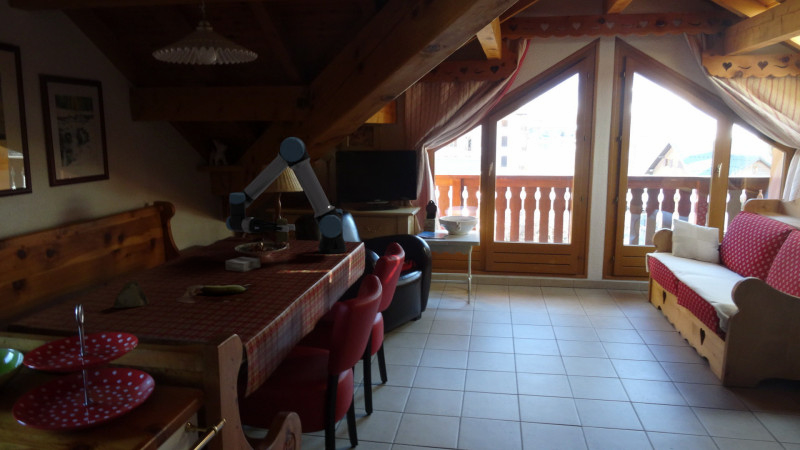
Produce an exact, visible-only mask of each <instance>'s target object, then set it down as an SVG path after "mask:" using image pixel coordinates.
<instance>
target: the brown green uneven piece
mask: <svg viewBox="0 0 800 450" xmlns="http://www.w3.org/2000/svg"><path fill="white" fill-rule="evenodd" d="M249 285H250V286H251V284H250V283H248V284H243V285H238V284H229V285H218V284H217V285H202V284H201V285H200V284H199V285H191V286H188V287H187V288H186V291H185V292H184V294H183V295H181V296H180V297H176V298H174V300H176V302H178V303H185V304H194V303H196V301H195V300H194V299H193V297H195V296H197V294H198V292H196V293H195V291H196V289H200V293H203V295H206V296H228V295H236V294H241V293H243V292H246V291H249ZM249 299H251V297H248V298H245V300H249ZM232 300H233V299H232ZM232 300H231V301H232ZM235 300H236V301H241V300H243V298H240V299H235ZM231 301H230V300H223V303H229V302H231ZM206 303H207V304H208V303H210V301H207V302H206Z"/></svg>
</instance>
